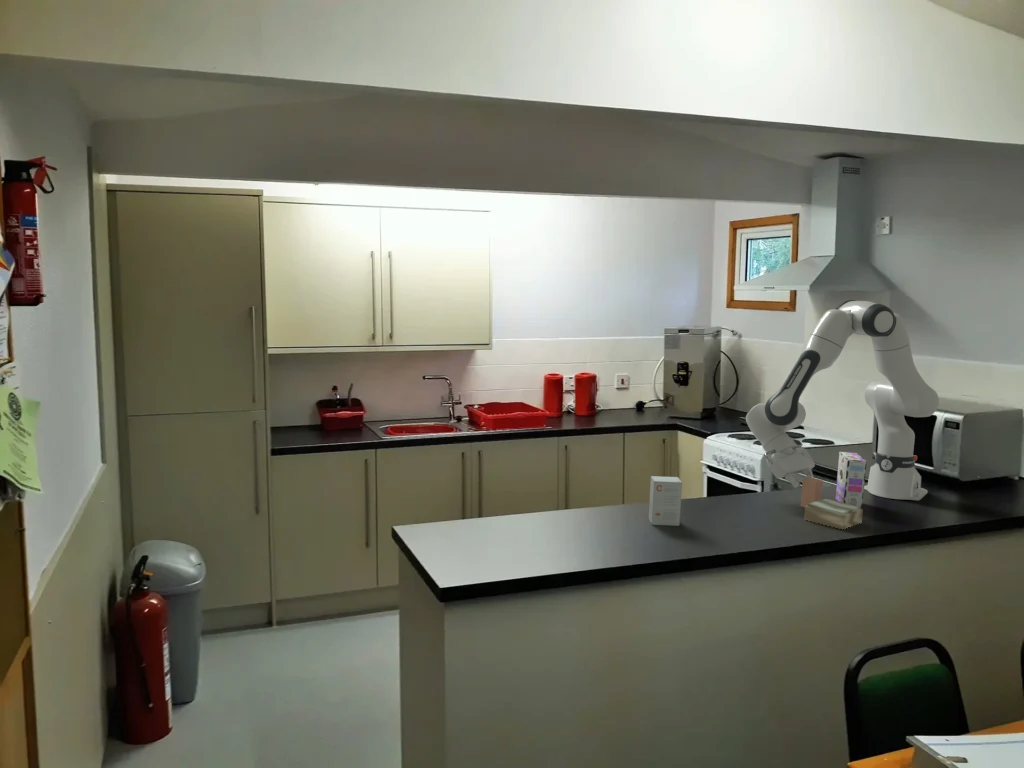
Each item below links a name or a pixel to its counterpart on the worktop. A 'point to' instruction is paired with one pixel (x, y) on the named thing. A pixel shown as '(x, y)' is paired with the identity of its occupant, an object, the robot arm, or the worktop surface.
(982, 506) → the worktop surface
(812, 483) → the terracotta block
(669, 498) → the small box
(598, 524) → the worktop surface
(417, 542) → the worktop surface
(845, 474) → the candy box
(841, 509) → the birch plinth
